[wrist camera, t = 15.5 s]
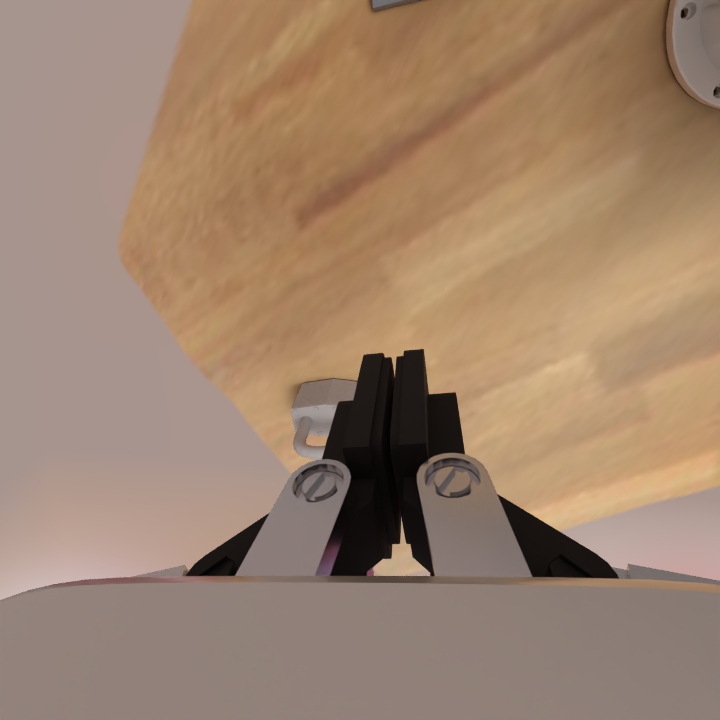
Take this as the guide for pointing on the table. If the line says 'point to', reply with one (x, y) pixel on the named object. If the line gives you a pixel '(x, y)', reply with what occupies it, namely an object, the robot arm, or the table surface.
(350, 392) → the padlock
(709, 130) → the table surface
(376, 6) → the base
